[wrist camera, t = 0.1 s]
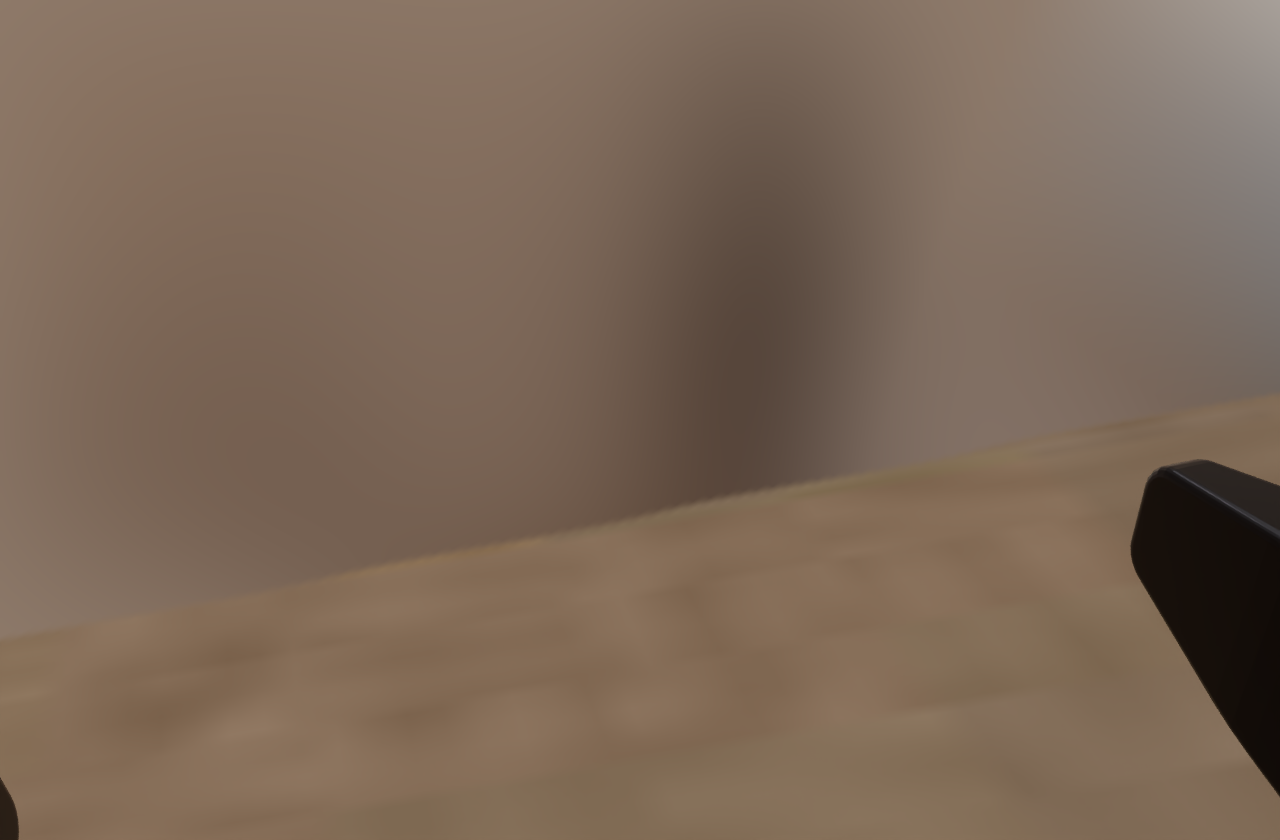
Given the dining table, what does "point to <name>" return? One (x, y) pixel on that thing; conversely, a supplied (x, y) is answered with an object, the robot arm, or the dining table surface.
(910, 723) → the dining table surface
